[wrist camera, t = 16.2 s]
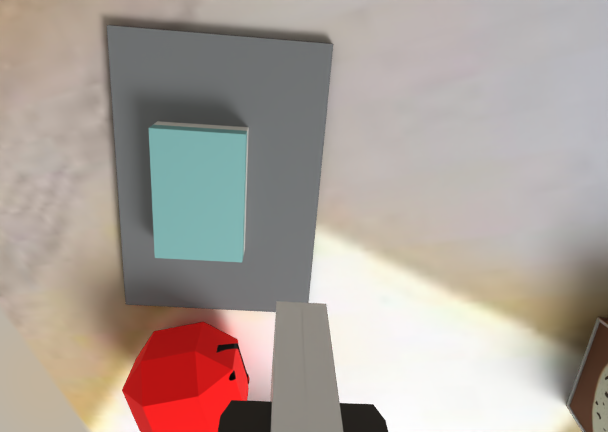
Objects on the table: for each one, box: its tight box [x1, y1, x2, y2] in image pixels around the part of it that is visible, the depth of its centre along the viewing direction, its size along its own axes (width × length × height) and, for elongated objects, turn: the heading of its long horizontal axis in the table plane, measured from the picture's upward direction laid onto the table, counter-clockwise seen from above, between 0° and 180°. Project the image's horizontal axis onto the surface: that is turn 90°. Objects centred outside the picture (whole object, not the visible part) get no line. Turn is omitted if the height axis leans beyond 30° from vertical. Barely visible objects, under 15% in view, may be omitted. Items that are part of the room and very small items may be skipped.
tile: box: [149, 121, 249, 262], centre depth 33 cm, size 9×2×6 cm
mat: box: [107, 25, 333, 312], centre depth 34 cm, size 20×14×1 cm
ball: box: [122, 322, 249, 432], centre depth 36 cm, size 8×8×8 cm
